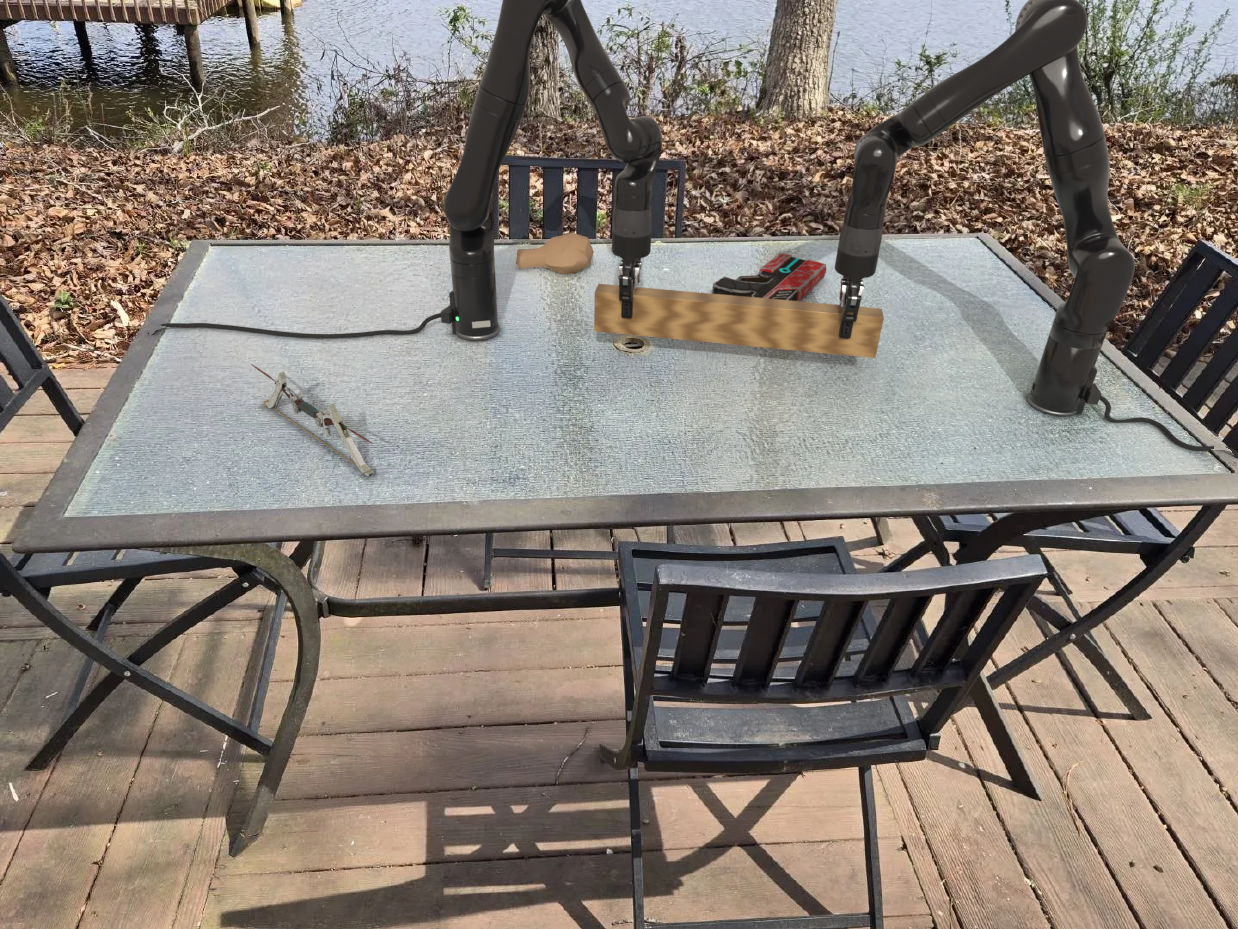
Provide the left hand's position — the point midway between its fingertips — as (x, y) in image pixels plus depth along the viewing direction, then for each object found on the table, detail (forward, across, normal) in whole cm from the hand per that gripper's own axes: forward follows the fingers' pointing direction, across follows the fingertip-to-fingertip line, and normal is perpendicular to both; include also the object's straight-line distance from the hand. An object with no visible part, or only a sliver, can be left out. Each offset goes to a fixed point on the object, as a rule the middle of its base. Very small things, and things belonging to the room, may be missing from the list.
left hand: (628, 312), depth 176 cm
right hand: (0, 0, -43) cm, 43 cm away
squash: (+11, +48, +26) cm, 56 cm away
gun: (+11, +45, -29) cm, 55 cm away
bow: (+12, -40, +50) cm, 65 cm away
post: (+4, 0, -21) cm, 22 cm away
